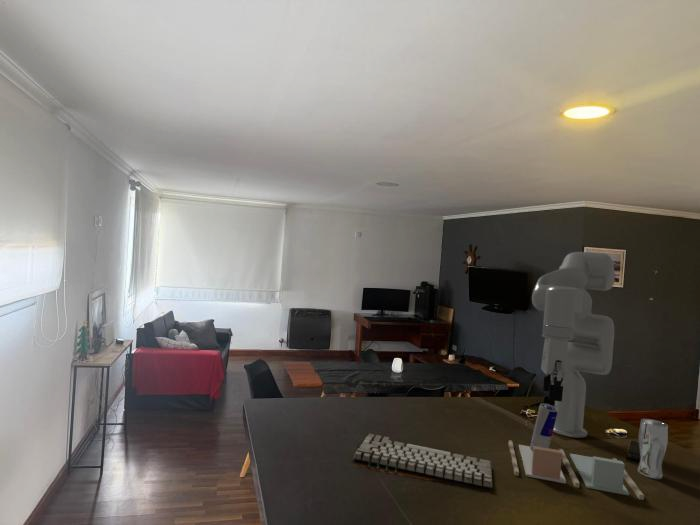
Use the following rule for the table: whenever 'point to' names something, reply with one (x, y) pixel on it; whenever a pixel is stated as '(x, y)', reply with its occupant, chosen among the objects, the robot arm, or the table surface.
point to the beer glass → (652, 447)
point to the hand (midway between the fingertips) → (551, 395)
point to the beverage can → (544, 426)
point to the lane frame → (572, 474)
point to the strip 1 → (542, 463)
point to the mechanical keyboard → (423, 463)
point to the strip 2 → (601, 473)
